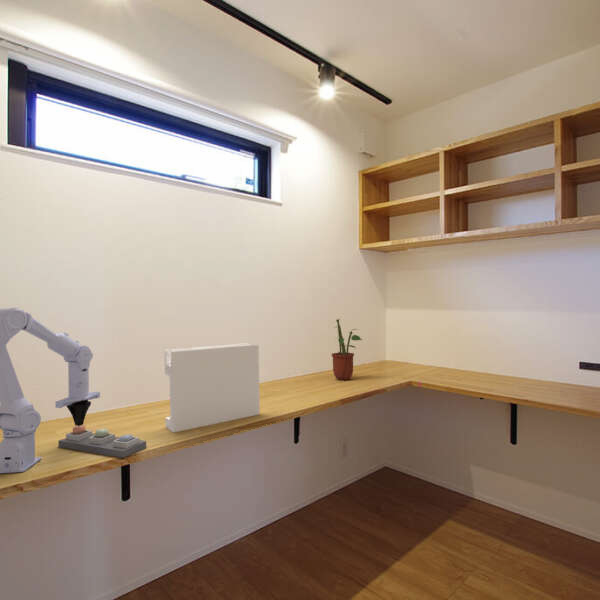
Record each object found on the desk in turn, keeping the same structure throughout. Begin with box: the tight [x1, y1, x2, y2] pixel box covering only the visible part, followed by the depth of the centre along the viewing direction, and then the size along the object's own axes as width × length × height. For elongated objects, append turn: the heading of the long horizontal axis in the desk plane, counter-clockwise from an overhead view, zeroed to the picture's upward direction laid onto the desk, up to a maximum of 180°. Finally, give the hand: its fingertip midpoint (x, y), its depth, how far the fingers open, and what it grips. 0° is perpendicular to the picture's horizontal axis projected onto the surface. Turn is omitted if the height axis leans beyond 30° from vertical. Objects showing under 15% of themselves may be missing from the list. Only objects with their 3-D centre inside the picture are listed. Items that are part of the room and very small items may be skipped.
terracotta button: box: [72, 424, 86, 434], centre depth 127 cm, size 4×4×2 cm
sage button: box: [94, 427, 109, 437], centre depth 124 cm, size 4×4×2 cm
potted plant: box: [331, 318, 363, 381], centre depth 232 cm, size 17×16×35 cm
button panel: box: [57, 429, 147, 459], centre depth 124 cm, size 27×9×4 cm, turn 68°
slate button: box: [119, 433, 134, 442], centre depth 120 cm, size 4×4×2 cm
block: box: [164, 342, 261, 433], centre depth 151 cm, size 35×8×28 cm, turn 127°
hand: (79, 425), depth 127 cm, fingers closed
